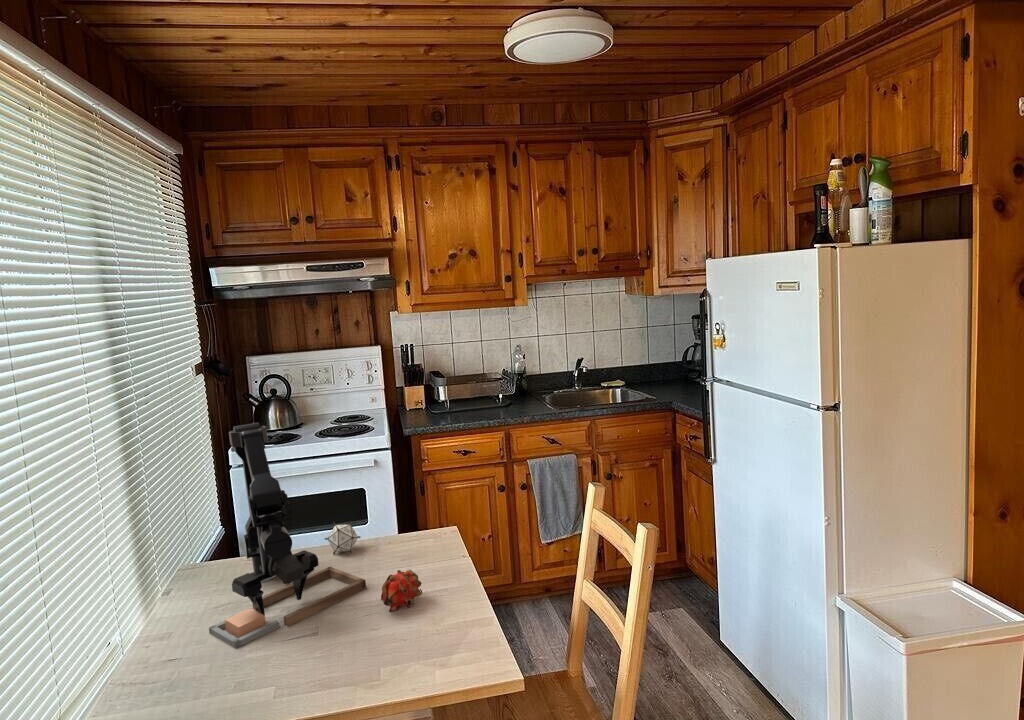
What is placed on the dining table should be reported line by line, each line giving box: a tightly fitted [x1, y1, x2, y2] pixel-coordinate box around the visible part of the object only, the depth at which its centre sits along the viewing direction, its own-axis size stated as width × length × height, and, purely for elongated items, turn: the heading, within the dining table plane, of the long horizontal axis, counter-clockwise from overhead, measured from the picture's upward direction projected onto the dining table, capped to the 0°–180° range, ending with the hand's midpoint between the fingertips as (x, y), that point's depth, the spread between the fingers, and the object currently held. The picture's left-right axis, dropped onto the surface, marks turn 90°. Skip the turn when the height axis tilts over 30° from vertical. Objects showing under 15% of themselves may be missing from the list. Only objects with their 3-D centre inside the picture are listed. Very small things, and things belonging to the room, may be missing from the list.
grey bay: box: [208, 607, 281, 649], centre depth 155 cm, size 11×10×1 cm
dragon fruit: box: [380, 569, 423, 613], centre depth 160 cm, size 8×8×12 cm
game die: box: [324, 521, 362, 555], centre depth 194 cm, size 9×8×10 cm
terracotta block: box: [224, 607, 267, 638], centre depth 156 cm, size 6×6×3 cm
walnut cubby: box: [251, 566, 367, 627], centre depth 168 cm, size 14×21×2 cm
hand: (281, 607), depth 162 cm, fingers open, 9 cm apart
